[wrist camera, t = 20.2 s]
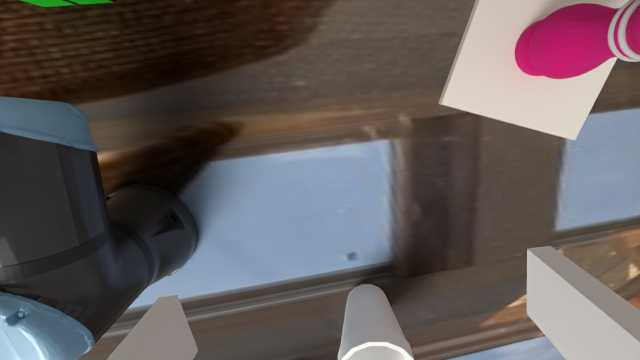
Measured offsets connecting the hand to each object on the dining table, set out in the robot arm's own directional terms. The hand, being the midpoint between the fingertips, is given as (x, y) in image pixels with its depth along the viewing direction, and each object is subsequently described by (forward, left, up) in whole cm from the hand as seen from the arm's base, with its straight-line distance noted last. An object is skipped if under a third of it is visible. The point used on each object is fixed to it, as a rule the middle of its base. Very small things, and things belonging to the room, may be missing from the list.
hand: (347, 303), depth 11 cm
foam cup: (-23, -11, -32) cm, 41 cm away
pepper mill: (+18, -20, -31) cm, 41 cm away
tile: (+18, -20, -32) cm, 42 cm away
